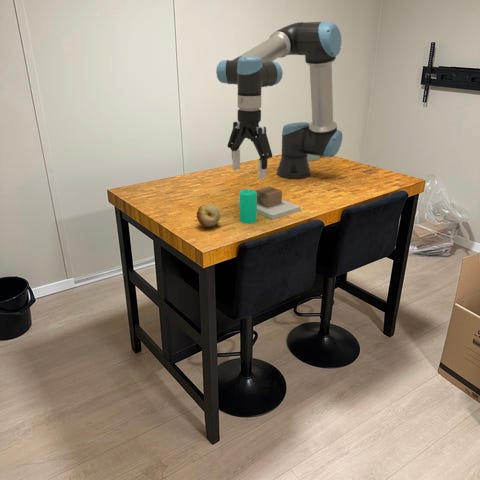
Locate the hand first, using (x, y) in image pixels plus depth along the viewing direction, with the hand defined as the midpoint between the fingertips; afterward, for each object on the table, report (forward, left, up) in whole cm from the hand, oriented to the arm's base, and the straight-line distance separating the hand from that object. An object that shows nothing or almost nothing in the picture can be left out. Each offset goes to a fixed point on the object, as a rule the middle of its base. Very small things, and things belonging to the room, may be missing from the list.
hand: (248, 173), depth 156 cm
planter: (-45, +77, -17) cm, 91 cm away
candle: (0, 0, -17) cm, 17 cm away
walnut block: (-5, +14, -15) cm, 21 cm away
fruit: (-4, -14, -17) cm, 23 cm away
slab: (-5, +14, -17) cm, 22 cm away
